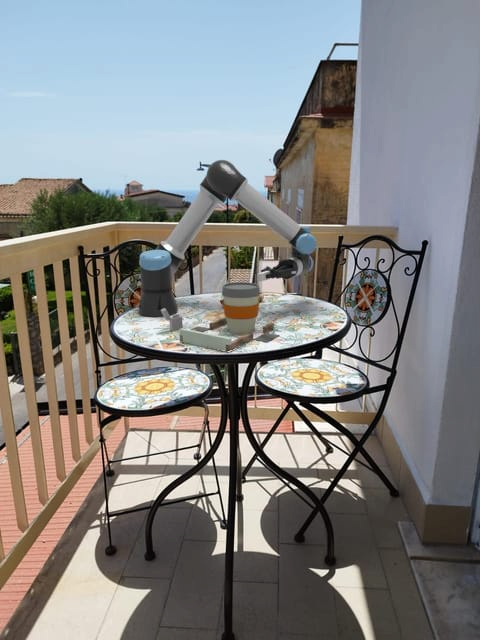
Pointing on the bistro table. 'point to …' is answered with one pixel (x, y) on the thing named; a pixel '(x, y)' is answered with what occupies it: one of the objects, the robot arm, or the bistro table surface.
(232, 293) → the reusable coffee cup
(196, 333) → the pale grey board
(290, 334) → the bistro table surface
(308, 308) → the bistro table surface
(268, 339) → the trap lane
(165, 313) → the lighter
